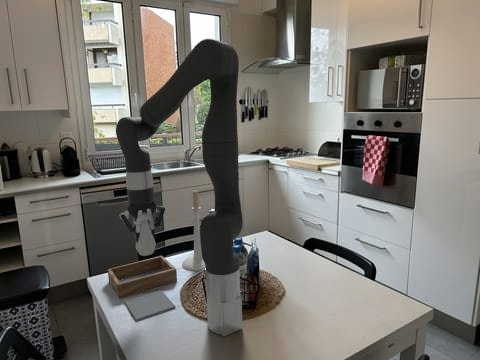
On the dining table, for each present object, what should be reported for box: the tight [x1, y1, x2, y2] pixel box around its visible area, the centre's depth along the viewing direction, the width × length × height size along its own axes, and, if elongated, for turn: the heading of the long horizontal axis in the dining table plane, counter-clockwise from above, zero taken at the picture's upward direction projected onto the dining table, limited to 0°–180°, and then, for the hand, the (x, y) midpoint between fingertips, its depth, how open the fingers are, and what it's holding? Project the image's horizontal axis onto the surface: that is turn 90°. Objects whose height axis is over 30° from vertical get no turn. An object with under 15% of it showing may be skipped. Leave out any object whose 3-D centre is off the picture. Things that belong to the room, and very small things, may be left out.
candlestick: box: [182, 189, 205, 272], centre depth 134 cm, size 13×13×30 cm
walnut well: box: [107, 255, 178, 300], centre depth 122 cm, size 14×20×5 cm
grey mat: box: [124, 289, 176, 322], centre depth 108 cm, size 12×12×1 cm
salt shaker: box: [135, 213, 157, 257], centre depth 104 cm, size 6×6×13 cm
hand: (145, 241), depth 105 cm, fingers closed on salt shaker, 3 cm apart
